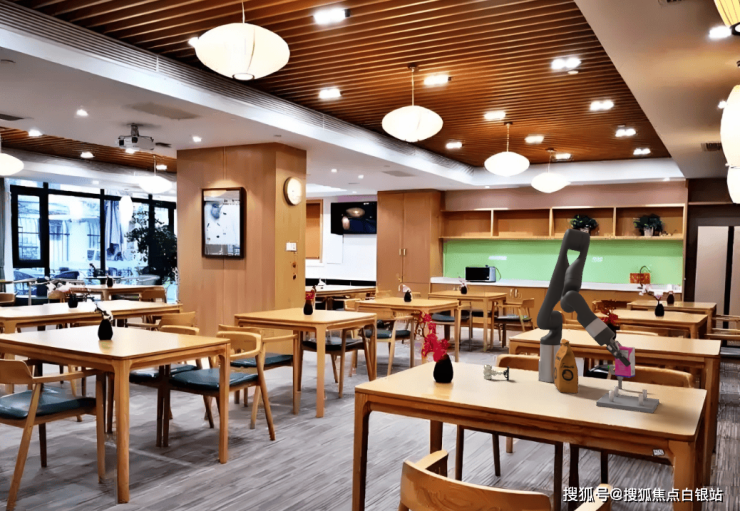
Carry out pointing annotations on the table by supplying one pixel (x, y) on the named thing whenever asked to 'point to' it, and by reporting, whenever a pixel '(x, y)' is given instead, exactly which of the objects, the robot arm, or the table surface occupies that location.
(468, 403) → the table surface
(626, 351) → the supplement box
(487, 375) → the valve
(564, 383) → the coffee package
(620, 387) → the mechanical component
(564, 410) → the table surface
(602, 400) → the peg cradle
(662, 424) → the table surface
